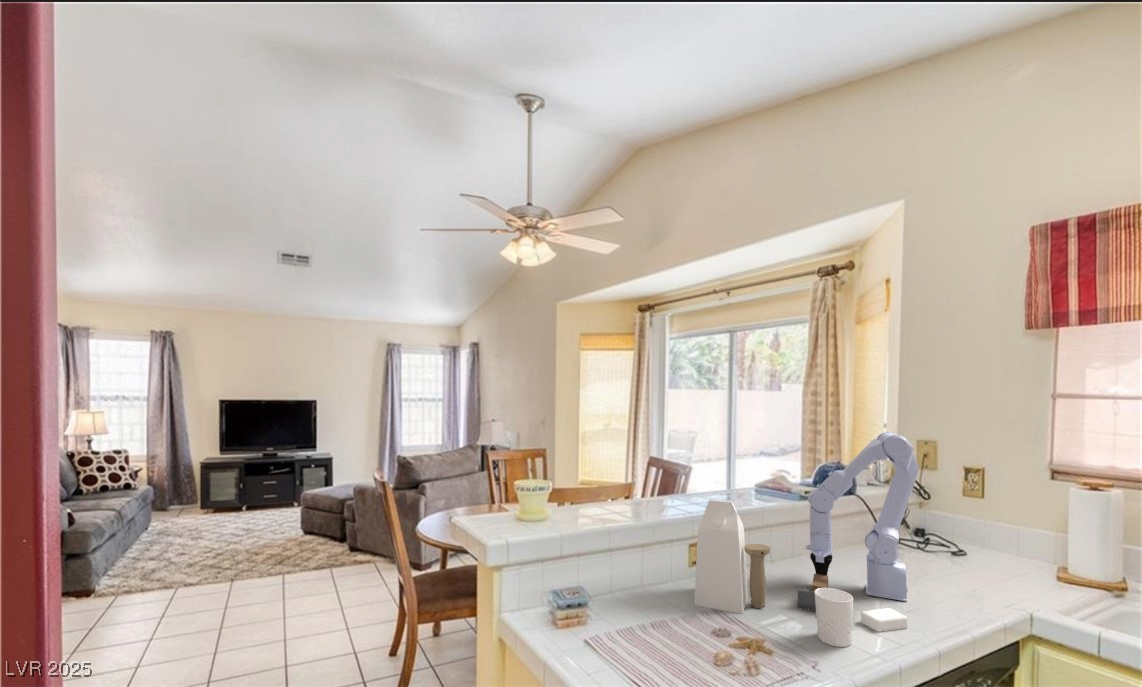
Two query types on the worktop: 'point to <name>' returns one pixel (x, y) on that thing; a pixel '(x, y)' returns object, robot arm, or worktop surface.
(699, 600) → the milk
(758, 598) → the handle
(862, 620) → the soap
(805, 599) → the bracket
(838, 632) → the white cup
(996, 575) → the worktop surface
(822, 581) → the tan rectangular block
